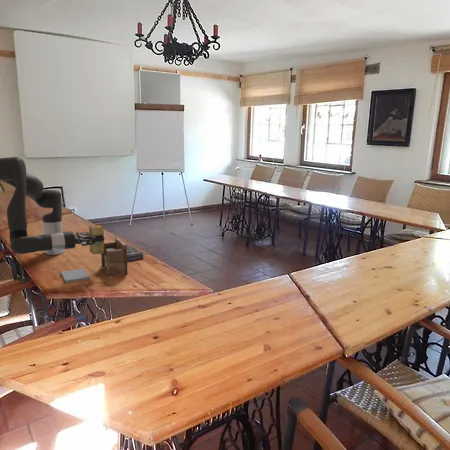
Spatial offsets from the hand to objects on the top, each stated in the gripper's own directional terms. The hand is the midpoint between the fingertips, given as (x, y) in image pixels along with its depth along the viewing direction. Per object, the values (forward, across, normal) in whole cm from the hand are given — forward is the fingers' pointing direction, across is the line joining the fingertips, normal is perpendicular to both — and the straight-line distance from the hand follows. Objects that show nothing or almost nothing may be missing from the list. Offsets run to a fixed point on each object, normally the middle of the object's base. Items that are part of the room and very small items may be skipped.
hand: (102, 236), depth 181 cm
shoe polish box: (-3, 0, +7) cm, 8 cm away
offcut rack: (+5, 0, +17) cm, 18 cm away
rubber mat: (-13, 0, +17) cm, 21 cm away
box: (+15, +20, +18) cm, 31 cm away
